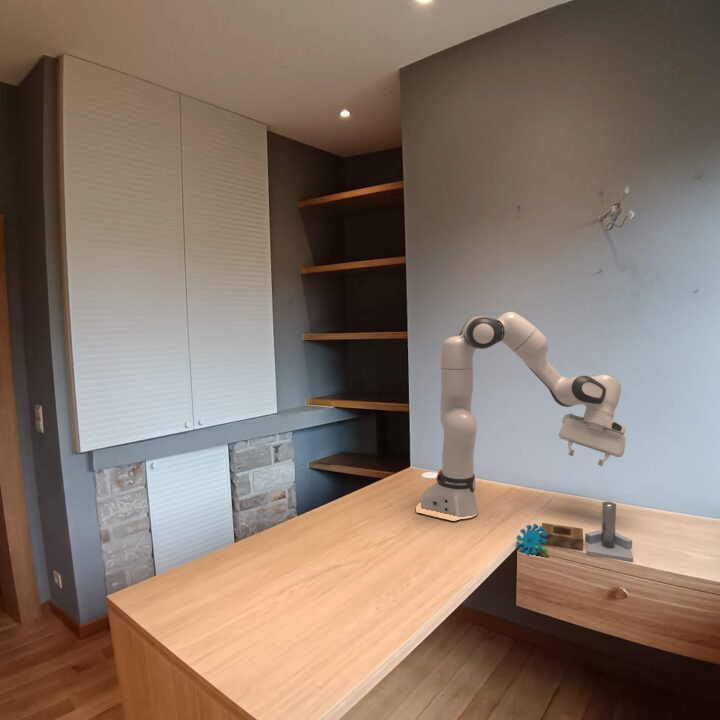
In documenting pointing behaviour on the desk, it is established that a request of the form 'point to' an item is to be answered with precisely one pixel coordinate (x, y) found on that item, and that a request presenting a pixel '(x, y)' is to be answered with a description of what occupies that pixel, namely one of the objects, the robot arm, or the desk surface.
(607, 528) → the axle
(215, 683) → the desk surface
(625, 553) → the v block
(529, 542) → the blue spiky virus model
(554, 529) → the brown slotted block
